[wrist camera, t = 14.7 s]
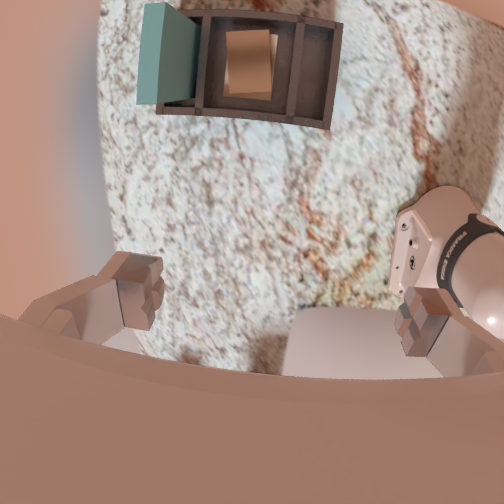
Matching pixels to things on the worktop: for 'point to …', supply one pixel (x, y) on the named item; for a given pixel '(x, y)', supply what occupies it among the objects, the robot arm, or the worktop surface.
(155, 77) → the teal panel
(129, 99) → the worktop surface
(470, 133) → the worktop surface
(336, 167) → the worktop surface
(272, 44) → the birch offcut
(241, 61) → the walnut offcut
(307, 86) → the rack
